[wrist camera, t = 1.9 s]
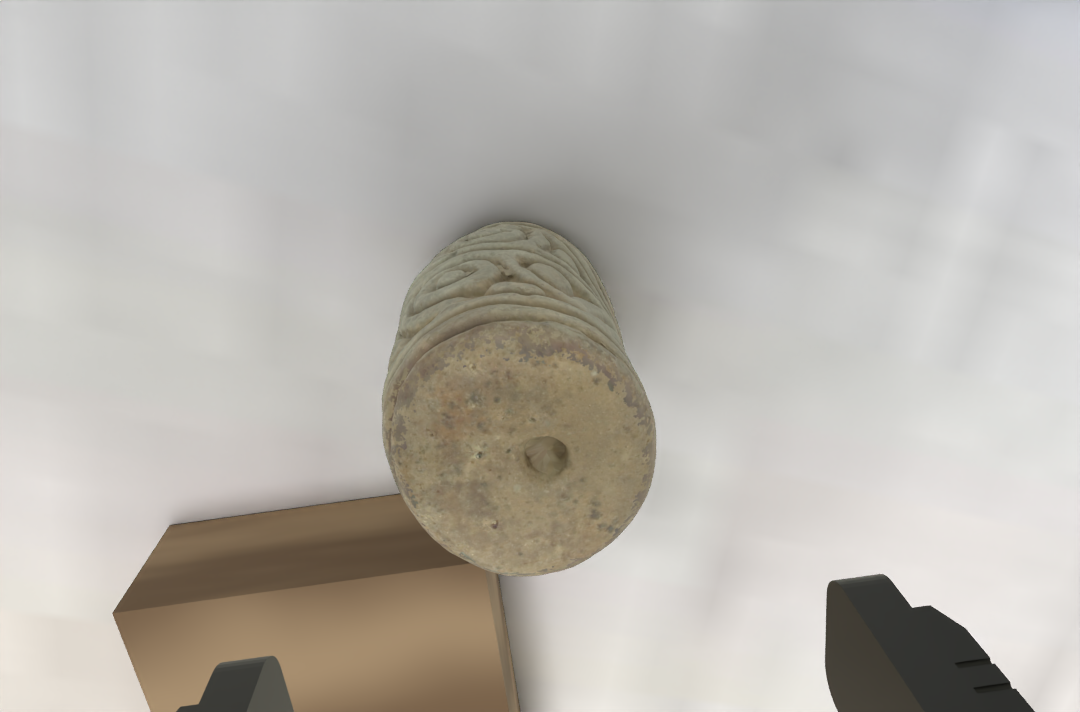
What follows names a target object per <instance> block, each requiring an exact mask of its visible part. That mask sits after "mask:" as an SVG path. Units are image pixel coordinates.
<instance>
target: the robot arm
mask: <svg viewBox="0 0 1080 712" xmlns="http://www.w3.org/2000/svg"><path fill="white" fill-rule="evenodd" d="M825 668H826V675H827V681H828V685H829V689H830V692H831V696H832V698H833V701H834V704H835V706H836V708H837V710H838V712H1035V711H1034V710H1033V709H1032V708H1031V707H1030V705H1029V704H1028V703H1027V702H1026V701H1025V699H1024V698H1023V697H1022V696H1021V695H1020V693H1019V692H1018V691H1017V690H1016V689H1012V687H1011V685H1010V681H1009V680H1008V679H1007V678H1006V677H1005V675H1004V674H1003V673H1002V672H1001V671H1000V669H999V668H998V667H997V666H996V665H995V664H992V663H991V661H990V657H989V656H988V655H987V654H986V653H985V651H984V650H983V649H982V648H981V647H980V645H979V644H978V643H977V642H976V641H975V639H974V638H973V637H972V636H971V635H970V633H969V632H968V631H967V630H966V629H965V628H964V627H962V626H961V625H959V624H958V623H956V622H955V621H953V620H952V619H950V618H949V617H947V616H946V615H944V614H943V613H941V612H939V611H938V610H936V609H935V608H933V607H932V606H922V607H915V608H912V607H911V606H910V605H909V603H908V602H907V601H906V599H905V598H904V597H903V595H902V594H901V593H900V592H899V590H898V589H897V588H896V586H895V585H894V584H893V582H892V581H891V580H890V579H889V578H888V577H887V576H885V575H883V574H878V575H870V576H863V577H856V578H848V579H841V580H834V581H831V582H830V583H829V585H828V588H827V606H826V648H825ZM176 712H294V709H293V706H292V703H291V699H290V696H289V693H288V689H287V686H286V683H285V679H284V676H283V673H282V669H281V666H280V664H279V662H278V660H277V658H276V657H274V656H265V657H257V658H250V659H243V660H236V661H228V662H222V663H219V664H218V665H217V666H216V667H215V669H214V671H213V673H212V675H211V677H210V679H209V682H208V684H207V686H206V688H205V691H204V693H203V695H202V697H201V700H200V702H199V704H196V705H189V706H182V707H180V708H179V709H178V710H177V711H176Z"/></svg>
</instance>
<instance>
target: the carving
mask: <svg viewBox="0 0 1080 712" xmlns="http://www.w3.org/2000/svg"><path fill="white" fill-rule="evenodd" d="M382 412H383V422H382V434H383V443H384V448H385V452H386V456H387V459H388V462H389V465H390V468H391V471H392V474H393V477H394V480H395V482H396V484H397V486H398V489H399V491H400V493H401V495H402V497H403V499H404V501H405V503H406V505H407V506H408V508H409V509H410V511H411V512H412V514H413V515H414V516H415V518H416V519H417V521H418V522H419V523H420V524H421V526H422V527H423V528H424V529H425V531H426V532H427V533H428V534H429V535H430V536H431V537H432V538H433V539H434V540H435V541H436V542H437V543H439V544H440V545H441V546H442V547H443V548H445V549H446V550H447V551H449V552H450V553H452V554H454V555H456V556H458V557H460V558H462V559H464V560H466V561H467V562H469V563H471V564H473V565H475V566H477V567H479V568H482V569H484V570H487V571H490V572H493V573H497V574H501V575H506V576H537V575H544V574H548V573H552V572H558V571H562V570H565V569H568V568H571V567H574V566H576V565H578V564H580V563H581V562H583V561H585V560H587V559H588V558H590V557H591V556H593V555H594V554H596V553H597V552H599V551H601V550H602V549H604V548H605V547H606V546H608V545H609V544H610V543H611V542H613V541H614V540H615V539H616V538H617V537H618V536H619V535H620V534H621V533H622V532H623V530H624V529H625V528H626V527H627V526H628V525H629V524H630V522H631V521H632V520H633V518H634V517H635V515H636V514H637V512H638V511H639V509H640V507H641V506H642V504H643V502H644V500H645V498H646V496H647V494H648V491H649V488H650V485H651V482H652V478H653V473H654V467H655V459H656V428H655V420H654V416H653V412H652V409H651V406H650V403H649V401H648V398H647V395H646V392H645V390H644V388H643V385H642V383H641V381H640V379H639V377H638V375H637V373H636V372H635V370H634V369H633V367H632V365H631V363H630V361H629V359H628V357H627V355H626V353H625V349H624V346H623V342H622V337H621V333H620V329H619V326H618V323H617V320H616V317H615V314H614V310H613V307H612V304H611V302H610V299H609V297H608V294H607V292H606V290H605V288H604V286H603V284H602V282H601V280H600V278H599V276H598V274H597V273H596V271H595V270H594V268H593V267H592V265H591V263H590V262H589V261H588V259H587V258H586V257H585V256H584V255H583V253H581V252H580V250H578V249H577V248H576V247H575V246H574V245H573V244H572V243H570V242H569V241H567V240H566V239H565V238H564V237H562V236H560V235H559V234H557V233H555V232H553V231H551V230H549V229H546V228H544V227H541V226H539V225H536V224H533V223H528V222H500V223H494V224H490V225H487V226H484V227H482V228H480V229H478V230H476V231H474V232H473V233H470V234H468V235H466V236H463V237H461V238H459V239H458V240H456V241H455V242H453V243H452V244H450V245H449V246H447V247H446V248H444V249H443V250H442V251H441V252H440V253H438V254H437V255H436V256H435V257H434V259H433V260H432V261H431V263H430V264H429V265H428V266H426V267H425V268H424V269H423V270H422V272H421V273H420V274H419V275H418V276H417V277H416V278H415V280H414V281H413V283H412V285H411V286H410V288H409V290H408V293H407V295H406V298H405V301H404V303H403V307H402V311H401V315H400V322H399V328H398V331H397V335H396V340H395V343H394V347H393V349H392V353H391V356H390V360H389V366H388V374H387V377H386V381H385V384H384V389H383V395H382Z"/></svg>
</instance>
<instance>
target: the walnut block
mask: <svg viewBox="0 0 1080 712" xmlns="http://www.w3.org/2000/svg"><path fill="white" fill-rule="evenodd" d="M112 614H113V616H114V619H115V621H116V624H117V626H118V629H119V631H120V634H121V637H122V639H123V642H124V644H125V647H126V649H127V652H128V654H129V657H130V660H131V662H132V665H133V667H134V670H135V672H136V675H137V677H138V680H139V682H140V685H141V688H142V690H143V693H144V695H145V698H146V700H147V703H148V705H149V708H150V711H151V712H176V711H177V710H178V709H179V708H180V707H182V706H189V705H196V704H199V702H200V700H201V697H202V695H203V693H204V691H205V688H206V686H207V684H208V682H209V679H210V677H211V675H212V673H213V671H214V669H215V667H216V666H217V665H218V664H219V663H222V662H228V661H236V660H243V659H250V658H257V657H265V656H274V657H276V658H277V660H278V662H279V664H280V666H281V669H282V673H283V676H284V679H285V683H286V686H287V689H288V693H289V696H290V699H291V703H292V706H293V709H294V712H520V706H519V700H518V694H517V688H516V682H515V676H514V670H513V664H512V657H511V651H510V645H509V639H508V633H507V627H506V621H505V614H504V608H503V602H502V596H501V590H500V584H499V578H498V574H497V573H493V572H490V571H487V570H484V569H482V568H479V567H477V566H475V565H473V564H471V563H469V562H467V561H466V560H464V559H462V558H460V557H458V556H456V555H454V554H452V553H450V552H449V551H447V550H446V549H445V548H443V547H442V546H441V545H440V544H439V543H437V542H436V541H435V540H434V539H433V538H432V537H431V536H430V535H429V534H428V533H427V532H426V531H425V529H424V528H423V527H422V526H421V524H420V523H419V522H418V521H417V519H416V518H415V516H414V515H413V514H412V512H411V511H410V509H409V508H408V506H407V505H406V503H405V501H404V499H403V497H402V495H401V494H397V495H389V496H382V497H375V498H368V499H360V500H353V501H346V502H338V503H331V504H324V505H316V506H309V507H302V508H295V509H287V510H280V511H273V512H265V513H258V514H251V515H243V516H236V517H229V518H222V519H214V520H207V521H200V522H192V523H185V524H178V525H170V526H169V527H168V529H167V530H166V532H165V533H164V535H163V536H162V538H161V540H160V541H159V543H158V544H157V546H156V547H155V549H154V550H153V552H152V553H151V555H150V556H149V558H148V559H147V561H146V563H145V564H144V566H143V567H142V569H141V570H140V572H139V573H138V575H137V576H136V578H135V579H134V581H133V582H132V584H131V586H130V587H129V589H128V590H127V592H126V593H125V595H124V596H123V598H122V599H121V601H120V602H119V604H118V605H117V607H116V609H115V610H114V612H113V613H112Z"/></svg>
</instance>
